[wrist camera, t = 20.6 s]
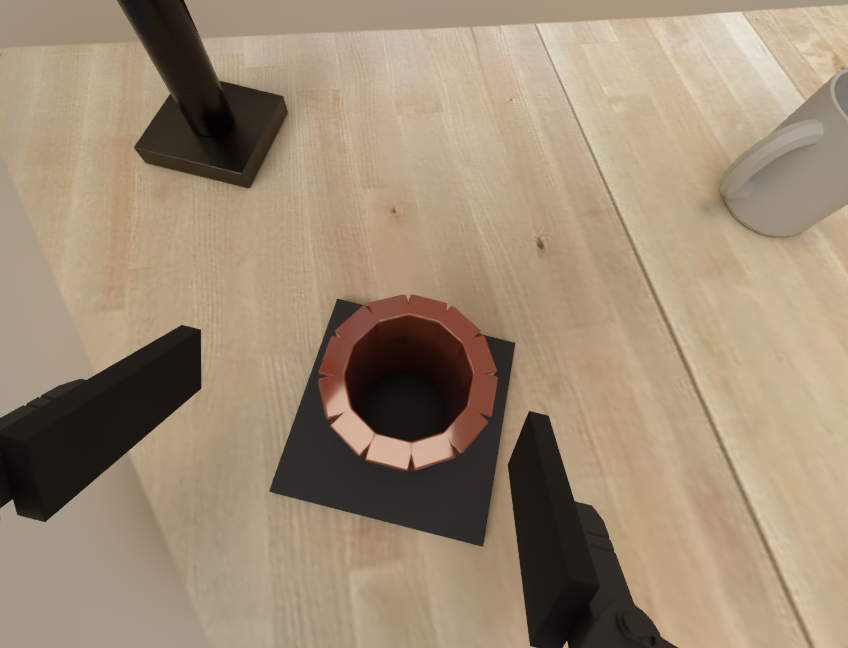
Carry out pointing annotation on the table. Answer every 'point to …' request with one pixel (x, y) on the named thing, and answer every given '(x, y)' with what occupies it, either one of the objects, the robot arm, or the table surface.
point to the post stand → (200, 102)
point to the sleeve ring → (417, 353)
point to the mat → (404, 419)
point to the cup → (795, 167)
